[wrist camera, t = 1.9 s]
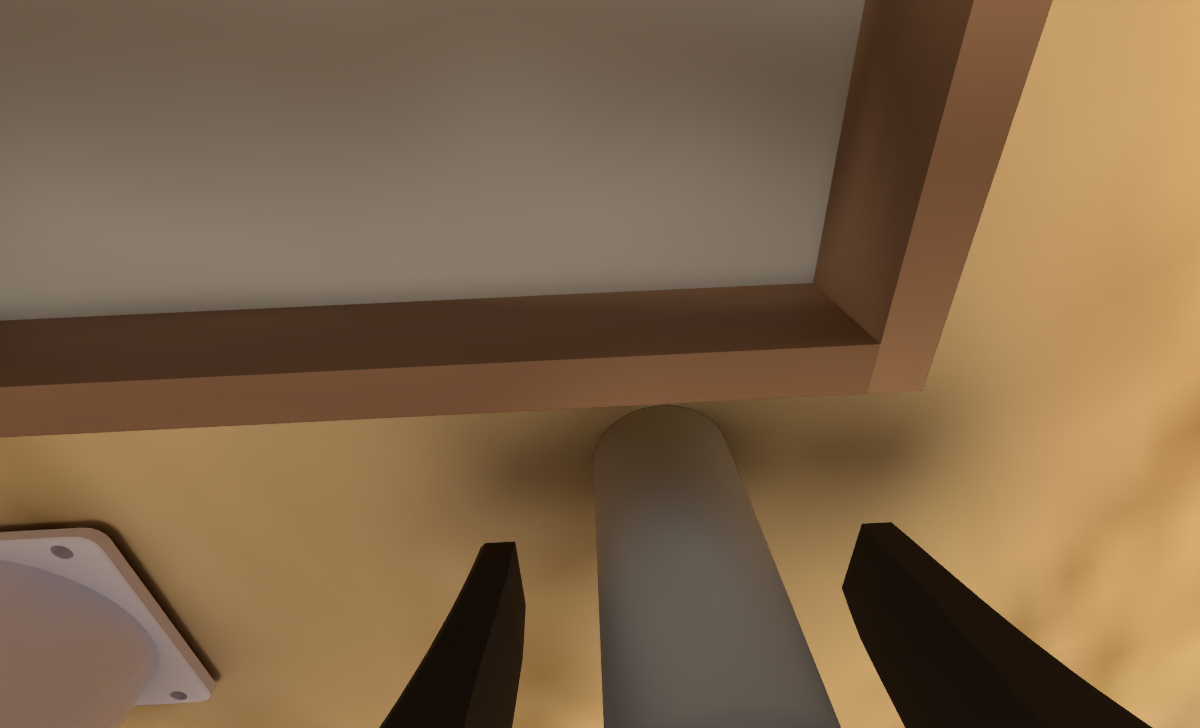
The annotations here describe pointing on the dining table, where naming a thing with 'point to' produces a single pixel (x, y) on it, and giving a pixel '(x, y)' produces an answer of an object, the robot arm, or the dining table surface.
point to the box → (484, 202)
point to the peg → (692, 588)
